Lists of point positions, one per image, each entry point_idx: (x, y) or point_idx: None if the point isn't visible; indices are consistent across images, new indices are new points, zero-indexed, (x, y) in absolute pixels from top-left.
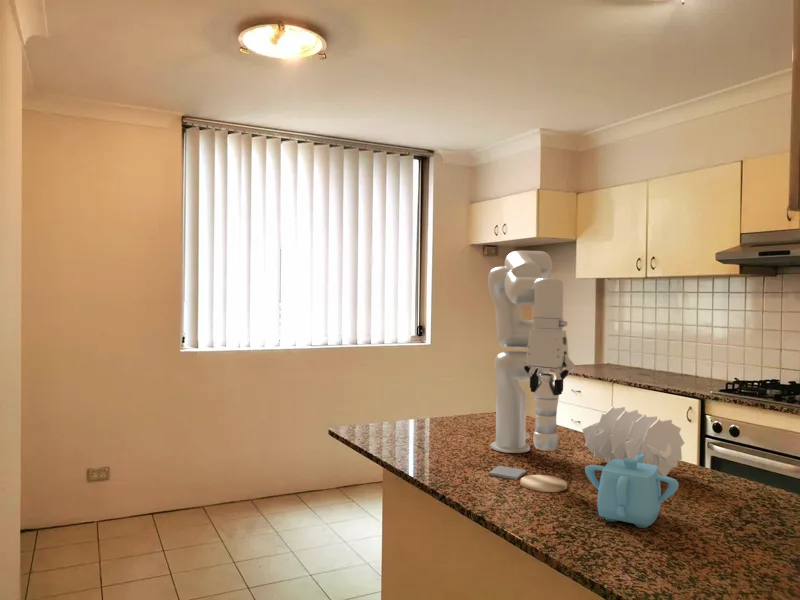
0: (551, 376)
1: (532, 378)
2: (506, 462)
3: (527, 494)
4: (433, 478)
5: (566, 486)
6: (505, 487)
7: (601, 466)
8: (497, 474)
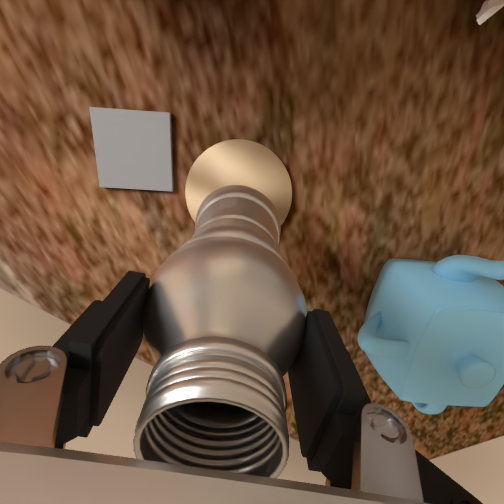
0: (272, 468)
1: (90, 424)
2: (82, 26)
3: None
4: (21, 269)
5: (291, 199)
6: (172, 252)
7: (399, 354)
8: (123, 187)
